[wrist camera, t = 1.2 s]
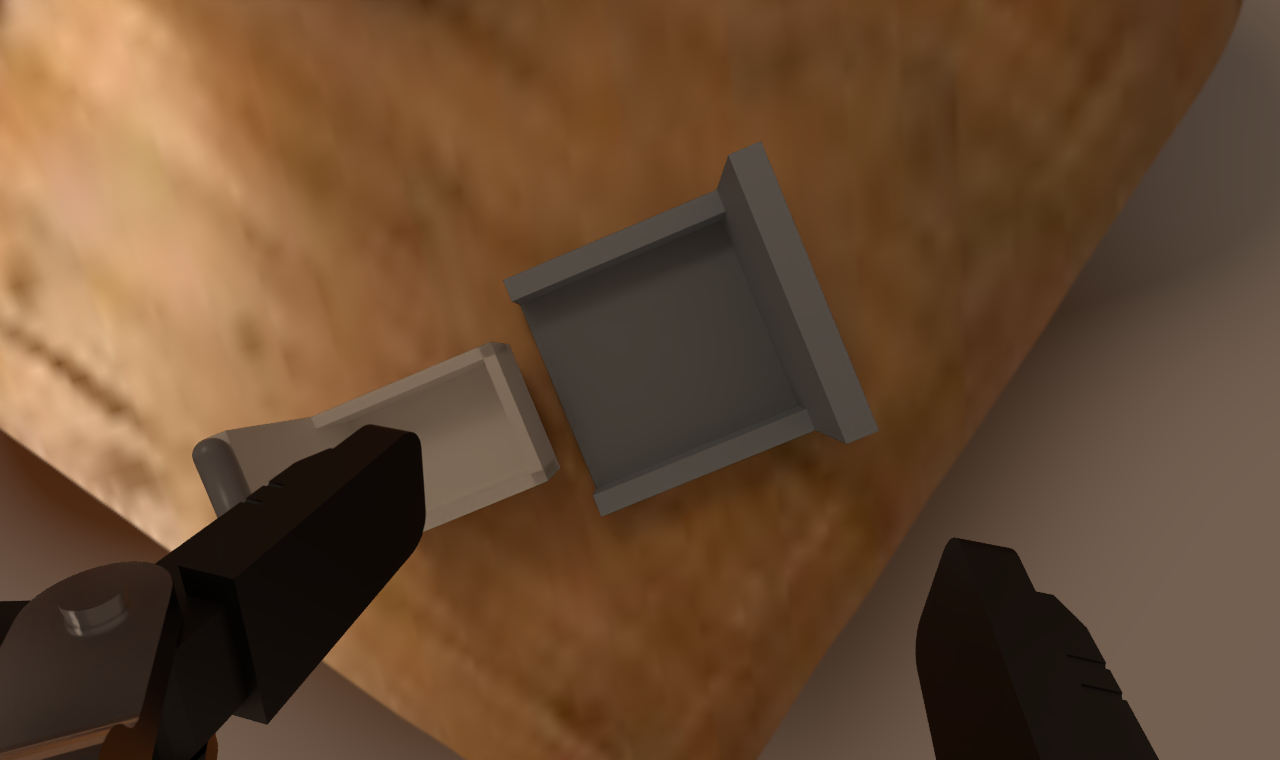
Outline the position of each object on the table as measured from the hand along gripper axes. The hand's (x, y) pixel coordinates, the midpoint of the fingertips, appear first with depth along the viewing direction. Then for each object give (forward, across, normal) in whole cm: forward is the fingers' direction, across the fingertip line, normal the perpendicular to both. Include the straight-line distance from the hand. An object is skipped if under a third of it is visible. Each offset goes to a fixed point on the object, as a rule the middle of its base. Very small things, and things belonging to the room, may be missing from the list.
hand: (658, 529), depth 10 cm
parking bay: (+25, +4, +8) cm, 26 cm away
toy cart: (+20, +14, +12) cm, 28 cm away
